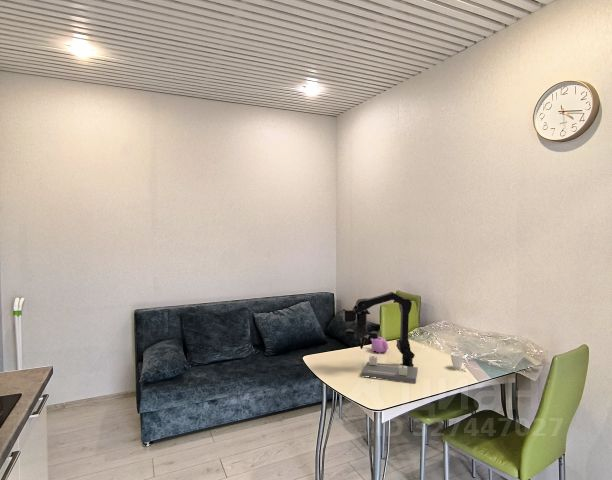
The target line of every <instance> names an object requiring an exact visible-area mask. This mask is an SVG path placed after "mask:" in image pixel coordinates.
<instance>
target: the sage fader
mask: <svg viewBox="0 0 612 480" xmlns="http://www.w3.org/2000/svg"><path fill="white" fill-rule="evenodd" d="M399 375H405V376H407V366H402V364H400V365H399Z"/></svg>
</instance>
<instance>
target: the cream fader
mask: <svg viewBox="0 0 612 480" xmlns="http://www.w3.org/2000/svg"><path fill="white" fill-rule="evenodd" d="M368 362H369V364H370V365H377V363H378V355H377V356H376V355H369V357H368Z"/></svg>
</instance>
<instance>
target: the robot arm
mask: <svg viewBox="0 0 612 480" xmlns="http://www.w3.org/2000/svg"><path fill="white" fill-rule="evenodd" d="M390 301H394V302H396V303H398V307H399V308H398V309H399V311H400V327H399V330H400V334H399V335H400V336H399V338H398V339H396V347H397V350H398V351H399V352H400V354H401V358H402V360H401V361H402V363H401V366H409V367H415V364H414V363H413V361H414V360H413V359H414V358H415V356H416V355H415V353H414V352H412V350H411V344H410V340H409V319H410V318H409V317H410V316H409V315H410V313H411V309H412V305H413V302H412V301H411V300H410V299H409V298H407V297H405V296H400V295H398V294H397V293H395V292H393V291H390V292H388V293H385V294H381V295H377V296H374V297H370V298H358V299H357V300H356V302H355V305H354V306H353V307H352V309H343V314H342V315H343V316H342V318H343V323H354V322H355V321H356V327H355V330H354V329H351V328H347V329H346V330H345V331H344V336H345V337H351V336H352V335H353V336H354V339H356V340H357V342H358V345H359V348H360V349H361V350H363V349H364V345H365V342H366V340H368V339H369V337H370V339H371V338H372V339H373V340H374V339H378V337H380V335H379V334H380V333H379V332H378V331H375V330H372V331H371V332H369V330H368V328H367V327H368V325H367V323H368V321H367V320H368V319H367V317H368V316H367V315H371V312H370V311H369V309H370V308H372V307H373V306H375V305H380V304H383V303H386V302H390Z"/></svg>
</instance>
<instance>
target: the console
mask: <svg viewBox="0 0 612 480" xmlns="http://www.w3.org/2000/svg"><path fill="white" fill-rule="evenodd" d="M418 368H419V367H416V366H413V367H409V366H407V376H405V375H399V365H397V364H391V363H390V364H389V363H380V362H379V363H378V362H377V365H370V364H369V361H366V364H365V366H364V367H363V369H362V372H361V377H362V376H369V377H376V378H382V379H381V380H383V379H388V380H387V381H391V380H395V381H394V382H399V381H403V382H402V383H408V382H413V383H412V384H416V383H417V378H418Z"/></svg>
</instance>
